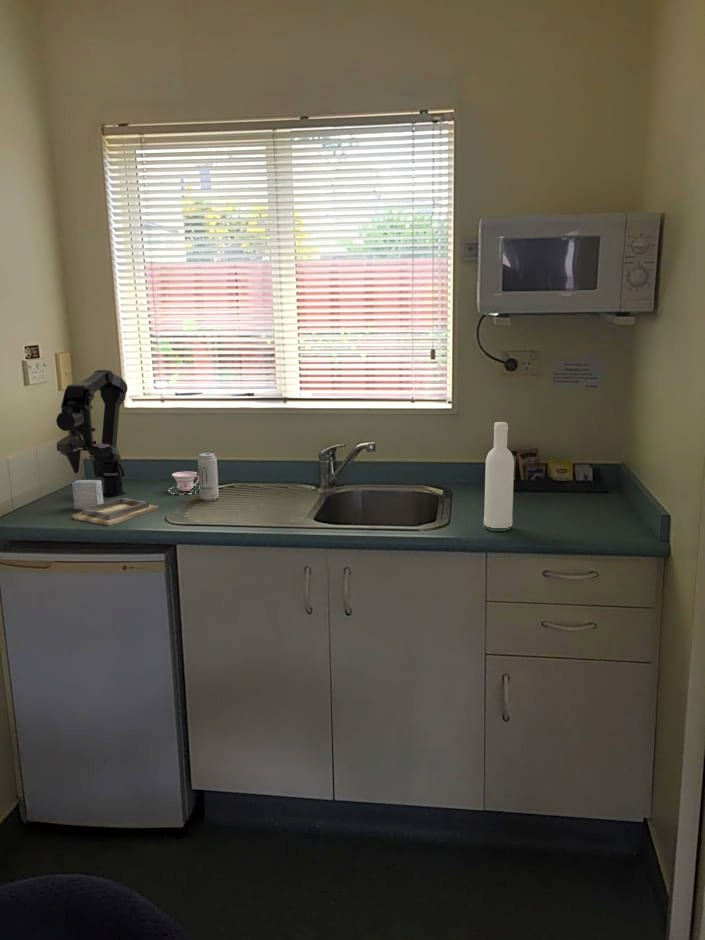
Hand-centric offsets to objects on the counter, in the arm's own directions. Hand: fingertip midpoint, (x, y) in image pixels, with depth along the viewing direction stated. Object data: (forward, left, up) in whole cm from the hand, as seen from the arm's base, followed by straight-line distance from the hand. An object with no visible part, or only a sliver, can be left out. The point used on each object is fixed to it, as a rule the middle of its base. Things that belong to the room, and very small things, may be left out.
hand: (86, 474), depth 240 cm
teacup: (+12, +31, -11) cm, 35 cm away
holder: (+13, -1, -11) cm, 17 cm away
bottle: (+121, +39, -11) cm, 128 cm away
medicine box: (0, 0, -11) cm, 11 cm away
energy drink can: (+27, +26, -11) cm, 39 cm away
